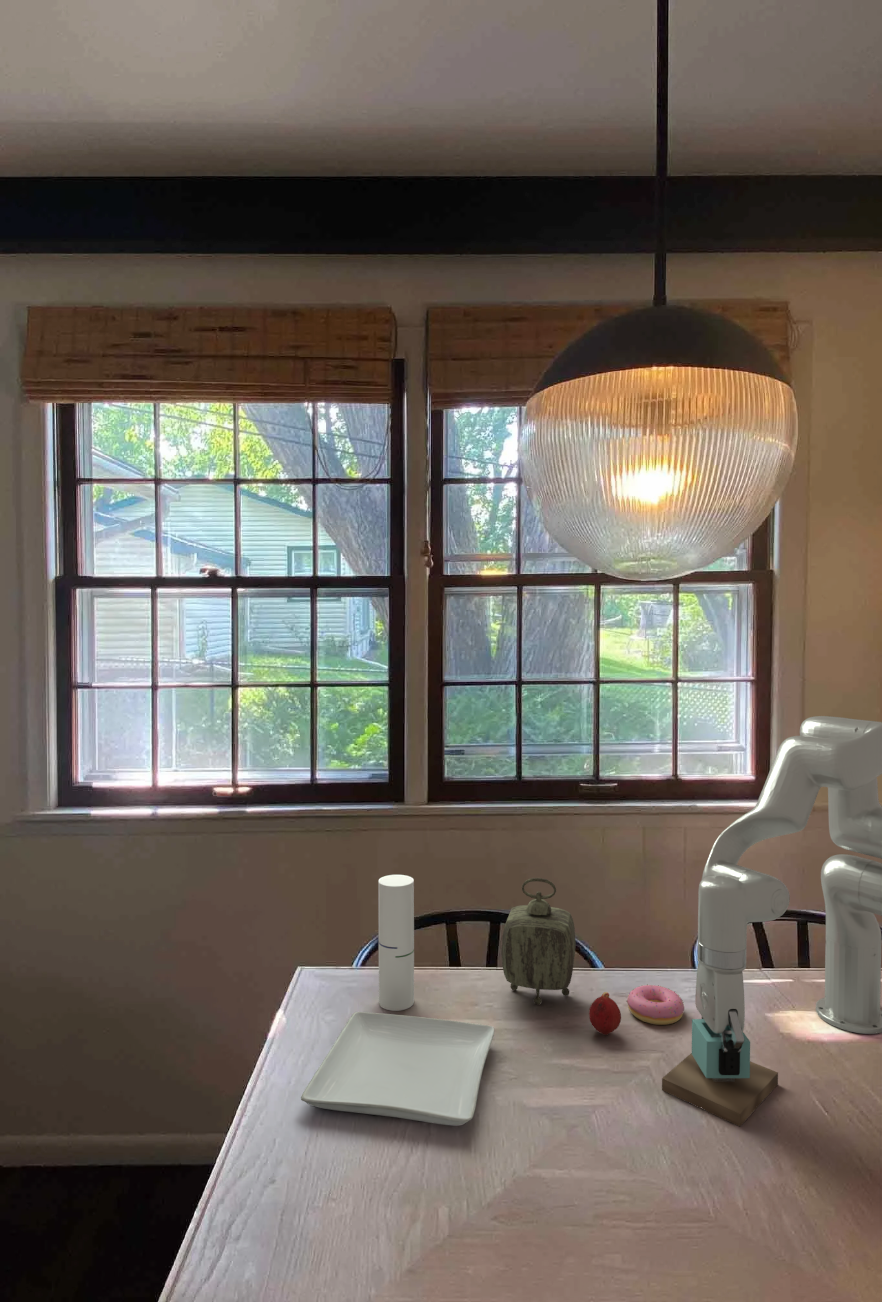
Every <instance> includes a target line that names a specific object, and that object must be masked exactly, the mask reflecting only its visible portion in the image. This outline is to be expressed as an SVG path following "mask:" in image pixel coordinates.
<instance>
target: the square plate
mask: <svg viewBox="0 0 882 1302" xmlns="http://www.w3.org/2000/svg"><path fill="white" fill-rule="evenodd" d="M495 1031H496V1030H495V1027H494V1026H492V1025H489V1024H488V1025H487V1024H479V1023H472V1022H471V1023H470V1022H465V1021H459V1020H458V1021H457V1020H449V1019H442V1018H432V1017H424V1016H423V1017H422V1016H414V1015H403V1014H394V1013H391V1014H390V1013H381V1012H379V1013H377V1012H364V1011H355V1012H353V1013H352V1014H351V1016H350V1017H349V1019H348V1021H346V1023H345V1024H344V1027H343V1028H342V1030H341V1032H340V1034H339V1035H338V1037H336V1040H335V1041H334V1043H333V1045H332V1046H331V1048H330V1049H329V1051H328V1053H327V1054H326V1056H325V1057H324V1059H323V1061H322V1062H321V1063H320V1065H319V1067H318V1068H317V1069H316V1071H315V1073H314V1075H313V1076H312V1077H311V1079H310V1080H309V1082H308V1083H307V1086H306V1087H305V1088H304V1091H303V1093H302V1094H301V1096H300V1100H301V1101H302V1102H305V1103H306V1104H307V1105H310V1106H313V1107H317V1108H319V1109H324V1110H332V1111H338V1112H346V1113H356V1114H357V1113H358V1114H366V1115H374V1116H383V1117H384V1116H385V1117H390V1118H391V1117H392V1118H399V1119H405V1120H411V1121H412V1120H413V1121H417V1122H418V1121H419V1122H425V1123H431V1124H437V1125H442V1126H443V1125H445V1126H452V1127H453V1126H459V1127H460V1126H463V1125H465V1124H466V1123H468V1122H469V1121H471V1120H472V1119H473V1118H474V1115H475V1111H476V1107H477V1099H478V1096H479V1090H480V1089H479V1088H480V1085H481V1079H482V1074H483V1071H484V1067H485V1063H486V1059H487V1057H488V1053H489V1051H490V1048H491V1044H492V1041H493V1039H494V1036H495Z"/></svg>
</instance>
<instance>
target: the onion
mask: <svg viewBox="0 0 882 1302" xmlns="http://www.w3.org/2000/svg"><path fill="white" fill-rule="evenodd" d="M588 1015H589V1016H588V1017H589V1022H590V1024H591V1026H592V1027H593V1028H594V1029H595V1031H596V1032H598V1033H599V1034H601V1035H603V1036H608V1035H609V1034H611V1033H612V1032H614V1031H616V1030H617V1029H618V1027H619V1026H620V1024H621V1023H622V1022H621V1020H622V1014H621V1010H620V1008H619V1006H618V1004H617V1003H616V1001H614V1000H613V999H612V998H611V997H610V993H609V992H608V991H604V992H603V993H602V994H601V995H600V996H598V997H597V998H595V1000H593V1002H592V1003H591V1004H590V1007H589V1011H588Z"/></svg>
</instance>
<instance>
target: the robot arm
mask: <svg viewBox="0 0 882 1302" xmlns="http://www.w3.org/2000/svg"><path fill="white" fill-rule="evenodd" d="M772 761H773V762H772V765H771V767H770V769H769V772H768V775H767V777H766V780H765V783H764V784H763V787H762V790H761V792H760V794H759V797H758V799H757V803H755V806H754V807H753V808H752V809H751V810H749V811H748V812H746V813H745V814H743V815H741V816H740V817H738V818H737V819H735V820H734V821H733V822H732V823H731V824H729V826H727V827H726V828H725V829H724V830H723V831H722V832H721V833H720V834H719V835H718V836H717V838H716V840H715V841H714V843H713V845H712V847H711V849H710V851H709V854H708V857H707V860H706V862H705V865H704V868H703V872H702V875H701V880H700V881H699V885H698V898H697V899H698V903H697V904H698V905H697V906H698V908H697V910H698V911H697V912H698V913H697V914H698V915H697V962H698V963H697V968H696V981H695V998H694V1001H695V1002H694V1004H695V1007H696V1010H697V1012H698V1013H699V1014H700V1016H701V1019H704V1020H705V1022H706V1023H707V1025H708V1026H709V1027H710V1029H711V1030H712V1031H713V1032H714V1033H716V1034H718V1033H719V1034H720V1041H721V1048H722V1049H719V1073H720V1074H721V1075H739V1074H740V1052H741V1048H742V1045H743V1043H744V1037H743V1034H742V1032H743V1033H744V1030H745V1020H746V1019H745V1018H746V1017H745V1016H746V1015H745V1012H746V1010H745V1008H746V1007H745V1005H746V1004H745V1003H746V1002H745V989H744V988H745V987H744V985H745V984H744V975H743V971H744V970H746V968H747V926H748V924H749V923H761V922H764V923H765V922H771V921H775V920H776V919H778V918H781V916H783V915H784V914H785V912H786V911H787V910H788V908H789V906H790V905H789V904H790V897H791V896H790V891H789V889H788V887H787V886H786V885H785V883H784V882H783V881H782V880H780V879H779V878H777V877H775V876H773V875H770V874H768V873H763V872H761V871H757V870H754V869H752V868H748V867H746V866H742V865H738V864H739V860H740V859H741V857H742V856H743V855H744V853H745V852H746V851H747V850H748V849H750V847H752V846H754V845H755V844H758V843H759V842H762V841H765V840H768V839H771V838H773V839H774V838H776V837H781V836H782V837H783V836H785V835H790V834H791V835H792V834H795V833H798V832H799V833H800V832H801V831H803V830H804V829H805V828H806V826H807V824H808V821H809V819H810V815H811V813H812V810H813V808H814V805H815V803H816V799H817V797H818V795H819V791H820V789H821V788H827V796H828V797H827V801H828V803H827V805H828V806H827V808H828V832H829V836H830V840H831V841H832V843H834V844H835V845H836V847H839V848H841V849H843V850H847V851H850V852H854V853H857V854H861V855H865V856H870V857H874V858H877V859H881V860H882V805H881V804H880V801H879V787H878V784H879V783H878V777H880V776H882V721H876V720H875V721H874V720H866V719H856V718H854V719H853V718H847V717H840V716H830V715H829V716H827V715H819V716H818V715H816V716H810V717H807V718H805V720H803V721H802V723H801V724H800V727H799V735H794V736H789V737H787V738H786V739H784V740H783V741H782V742H781V743H780V745H779V747H778V749H777V752H776V754H775V756H774V760H772ZM820 881H821V882H820V884H821V889H822V894H823V900H824V907H825V909H824V910H825V953H824V954H825V957H824V958H825V959H824V960H825V962H824V965H825V966H824V997H822V998H820V999H818V1000H817V1001H816V1003H815V1012H816V1014H817V1016H818V1017H819V1018H820V1019H821V1020H823V1021H824V1022H826V1023H827V1024H829V1025H831V1026H834V1027H835V1028H837V1029H841V1030H843V1031H847V1032H851V1033H857V1034H862V1035H863V1034H864V1035H875V1034H876V1035H878V1034H880V1033H882V1009H881V985H882V983H881V979H882V977H881V975H882V930H881V927H880V923H879V921H878V919H877V917H876V915H877V916H881V917H882V862H879V861H876V860H874V859H870V858H865V857H860V856H857V855H852V854H846V853H843V854H842V853H840V854H835V855H831V856H830V857H829V858H827V859H826V860H825V861H824V862H823V864H822V866H821V870H820ZM726 1026H730V1028H731V1030H724V1029H725V1027H726ZM725 1034H732V1040H729V1041H728V1042H727V1043H726V1037H725Z"/></svg>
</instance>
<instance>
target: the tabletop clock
mask: <svg viewBox="0 0 882 1302" xmlns="http://www.w3.org/2000/svg"><path fill="white" fill-rule="evenodd" d="M533 882H541V883H546V884H547V885H550V886H551V887H552V888H553V892H552V893H550V894H547V895H546V894H545V895H542V892H541V891H540V890H539V891H536V894H532V893H529V892H528V891H526V890H525V886H526V885H527V884H529V883H533ZM521 891H522V892H523V893H524V894H525V895H526V897H528V898H531V900H530V901H529V902H528V904H524V905H516V906H514V907H511V909H510V912H509V914H508V917H507V918H506V920H505V921H506V922H505V924H504V927H503V931H502V938H501V939H502V940H501V948H500V949H501V951H500V952H501V962H502V970H503V975H504V978H505V980H506V982H508V983H510V987H509V988H510V989H511V990H512V991H517V990H518V988H519V987H520V988H521V987H522V988H527V989H532V990H533V989H534V990H535V996H534V997H533V1003H534V1004H535V1005H537V1006H538V1005H541V1003H542V997H540V992H541V991H543V990H544V991H559V990H560V991H561V994H562V995H563V996H564V997H568V996H569V995H570V989H569V986H570V983H571V981H572V977H573V972H574V971H573V970H574V964H575V962H574V961H575V955H576V954H575V953H576V944H577V943H576V942H577V941H576V929H575V923H574V918H573V916H572V914H571V912H569V911H567V910H566V909H563V908H559V907H554V906H551V905H550V904H549V903H548V901H546V900H548V899H550V898H552V897H554V896H555V895H556V893H557V887H556V886H555V884H554V883H553V882H552V881H551V880H548V879H546V878H542V877H531V878H529V879H526V880H525V881H524V882H523V883H522V885H521ZM540 990H541V991H540Z"/></svg>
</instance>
